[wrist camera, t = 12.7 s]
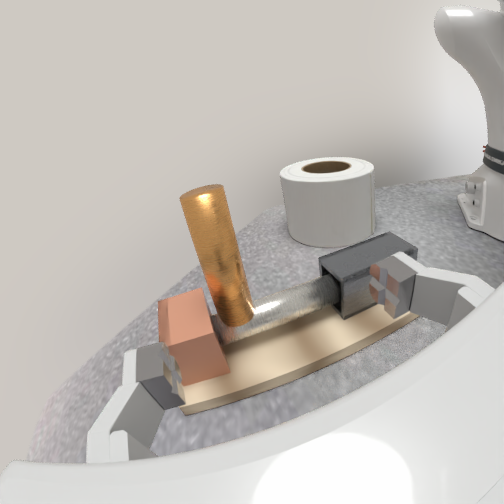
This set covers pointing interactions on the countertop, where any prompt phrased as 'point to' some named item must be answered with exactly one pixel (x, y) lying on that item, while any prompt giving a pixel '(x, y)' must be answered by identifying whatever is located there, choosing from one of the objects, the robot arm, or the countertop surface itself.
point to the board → (290, 354)
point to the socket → (191, 337)
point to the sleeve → (360, 270)
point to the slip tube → (243, 274)
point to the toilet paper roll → (329, 201)
